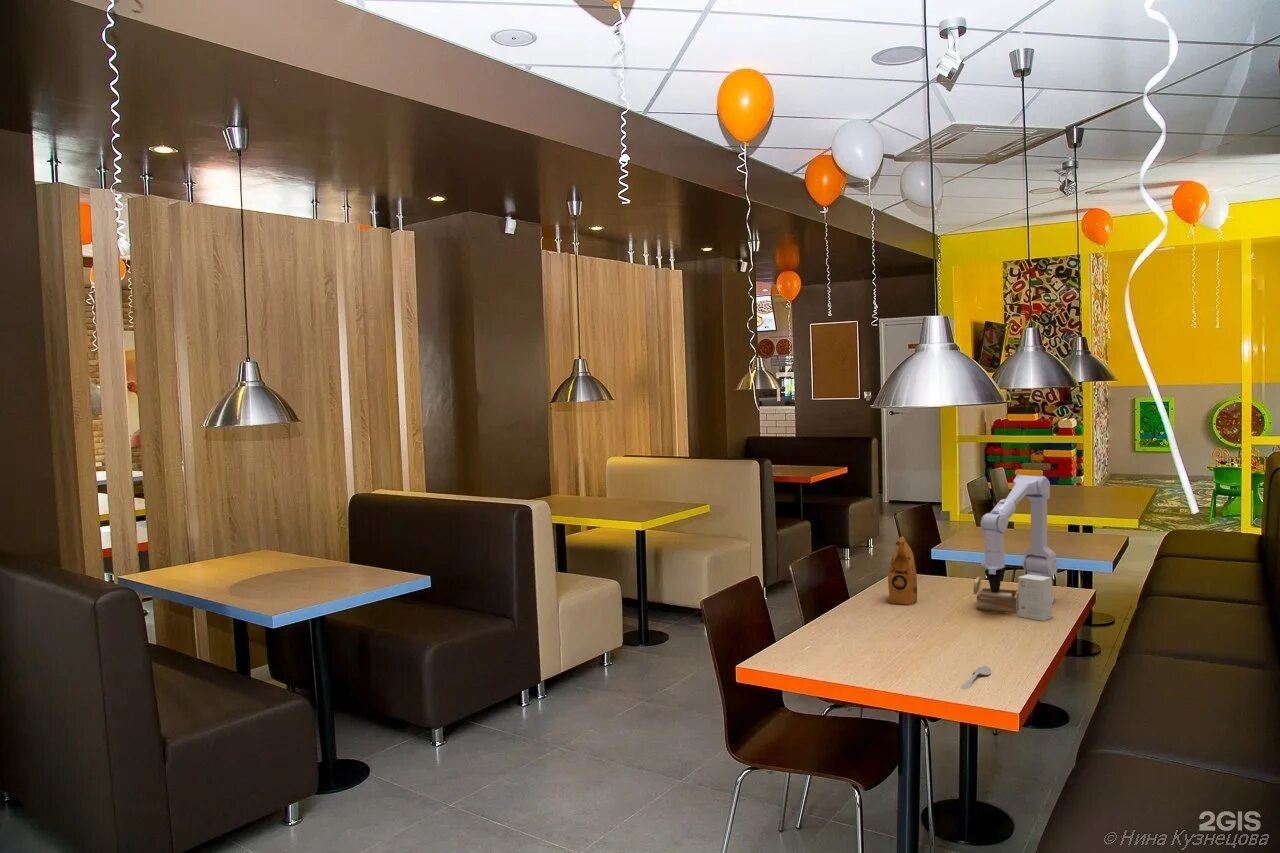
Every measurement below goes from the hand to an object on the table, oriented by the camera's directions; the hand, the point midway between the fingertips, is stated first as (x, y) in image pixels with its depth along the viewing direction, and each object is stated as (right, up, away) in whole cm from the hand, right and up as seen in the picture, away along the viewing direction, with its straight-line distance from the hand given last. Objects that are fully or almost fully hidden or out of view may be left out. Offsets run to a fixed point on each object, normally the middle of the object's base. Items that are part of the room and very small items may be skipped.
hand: (995, 592), depth 283 cm
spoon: (-31, -11, -62) cm, 71 cm away
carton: (+5, -7, +9) cm, 13 cm away
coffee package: (-23, -8, +22) cm, 33 cm away
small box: (+11, -8, -4) cm, 14 cm away
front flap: (+1, -1, +2) cm, 3 cm away
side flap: (0, 0, +12) cm, 12 cm away
